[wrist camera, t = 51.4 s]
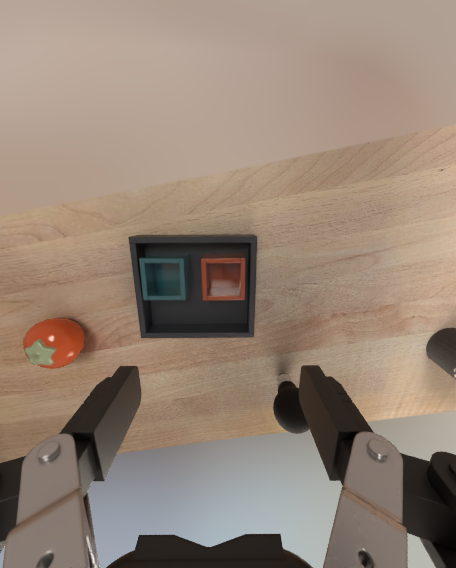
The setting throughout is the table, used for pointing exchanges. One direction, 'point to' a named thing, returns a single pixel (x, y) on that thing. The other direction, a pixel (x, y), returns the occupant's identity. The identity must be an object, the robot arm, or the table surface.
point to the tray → (196, 289)
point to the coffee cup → (444, 350)
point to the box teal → (165, 276)
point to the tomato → (54, 342)
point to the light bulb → (289, 406)
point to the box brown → (223, 276)
